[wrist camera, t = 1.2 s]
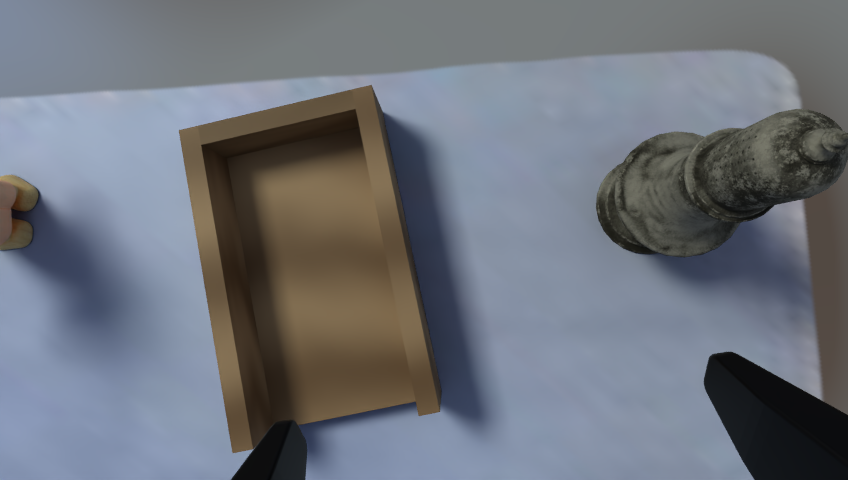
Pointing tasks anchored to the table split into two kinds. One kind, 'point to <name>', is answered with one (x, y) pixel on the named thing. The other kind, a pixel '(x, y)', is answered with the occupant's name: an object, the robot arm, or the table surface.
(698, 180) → the grey tiered stone figure
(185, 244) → the table surface
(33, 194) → the grandmother figurine
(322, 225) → the open-ended wooden tray
